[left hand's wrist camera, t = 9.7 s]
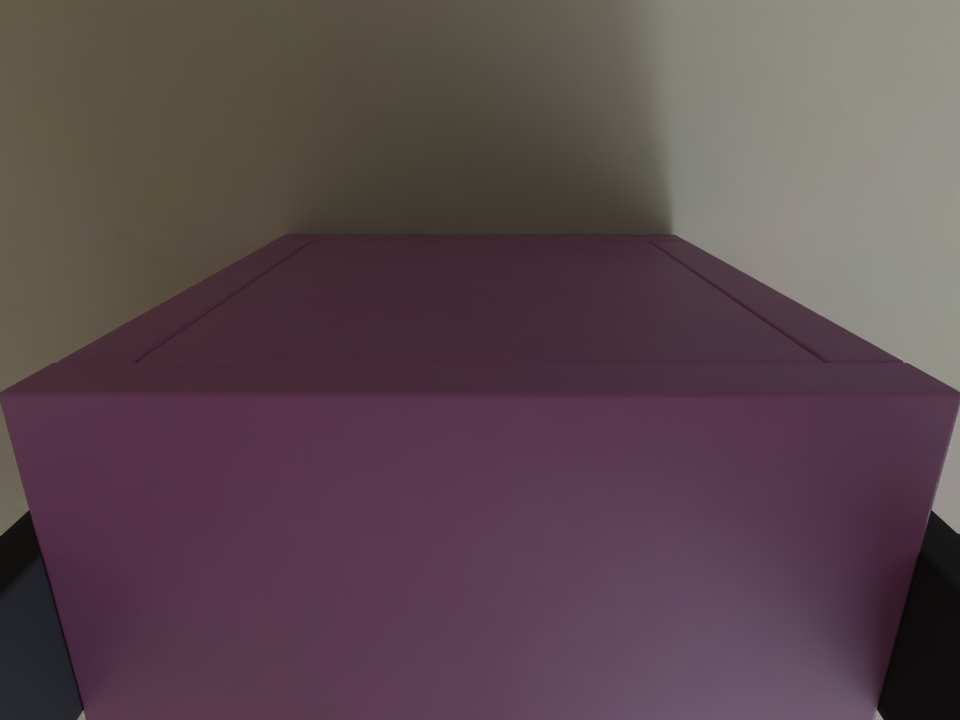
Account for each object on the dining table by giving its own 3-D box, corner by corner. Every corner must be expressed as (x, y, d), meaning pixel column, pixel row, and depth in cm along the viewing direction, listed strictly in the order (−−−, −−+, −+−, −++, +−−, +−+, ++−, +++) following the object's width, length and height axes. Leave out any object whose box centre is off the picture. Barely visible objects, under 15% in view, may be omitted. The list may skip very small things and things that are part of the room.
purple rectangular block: (623, 764, 26) (732, 1249, 15) (336, 764, 26) (227, 1250, 15) (677, 234, 19) (965, 392, 8) (283, 234, 19) (-5, 392, 8)
